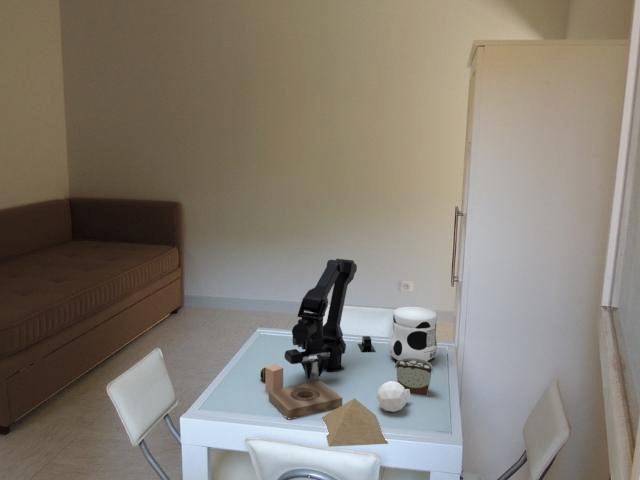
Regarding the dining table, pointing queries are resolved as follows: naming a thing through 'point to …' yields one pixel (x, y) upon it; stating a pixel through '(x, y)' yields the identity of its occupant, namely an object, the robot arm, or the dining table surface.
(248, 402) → the dining table surface
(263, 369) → the tape measure
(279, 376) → the square bar
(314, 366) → the round dowel
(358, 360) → the dining table surface
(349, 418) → the model pyramid
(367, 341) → the black stepped block
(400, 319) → the milk container
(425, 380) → the food container
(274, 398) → the bore block
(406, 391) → the perfume bottle
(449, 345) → the dining table surface
